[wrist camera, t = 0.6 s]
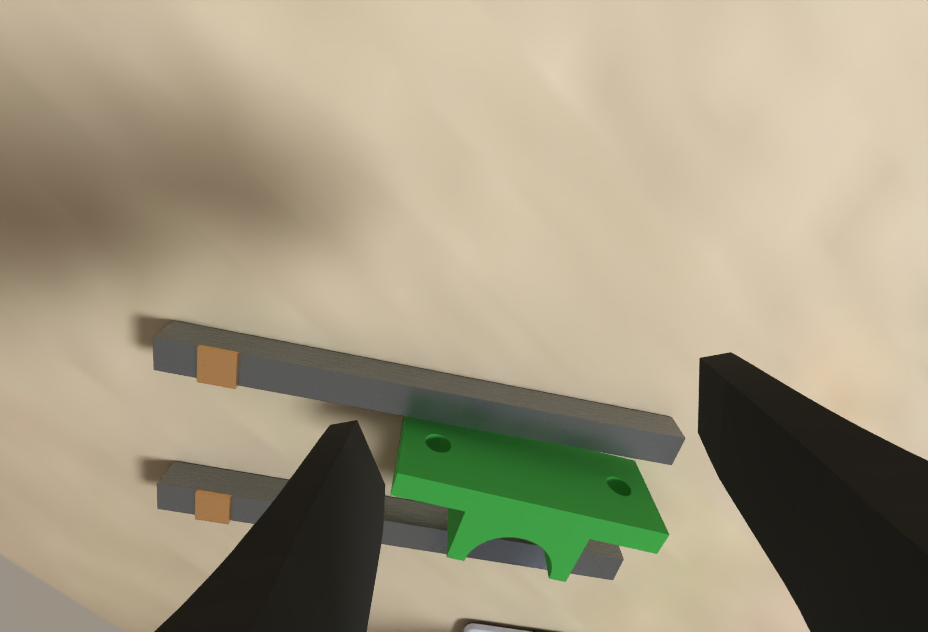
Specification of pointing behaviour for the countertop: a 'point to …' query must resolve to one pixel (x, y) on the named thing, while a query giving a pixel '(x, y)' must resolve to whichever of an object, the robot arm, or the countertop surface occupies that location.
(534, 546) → the guide track
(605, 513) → the pipe clamp
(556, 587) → the countertop surface
